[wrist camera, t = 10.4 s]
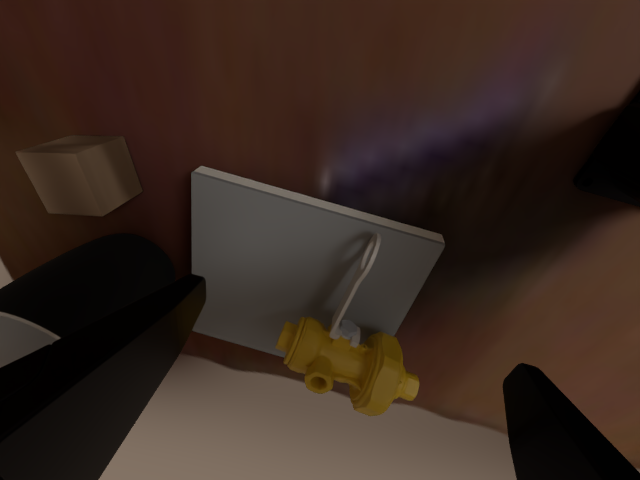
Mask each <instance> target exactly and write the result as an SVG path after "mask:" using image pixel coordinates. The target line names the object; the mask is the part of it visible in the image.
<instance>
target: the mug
mask: <svg viewBox="0 0 640 480" xmlns="http://www.w3.org/2000/svg"><path fill="white" fill-rule="evenodd" d="M173 282H175V271H174V267H173V265H172V263H171V261H170V259H169V258H168V256H167V255H166V254H165V253H164V252H163V251H162V250H161V249H160V248H159V247H158V246H157V245H155V244H154V243H152V242H151V241H149V240H147V239H145V238H143V237H140V236H137V235H133V234H114V235H108V236H105V237H101V238H98V239H96V240H93V241H91V242H88V243H86V244H84V245H81V246H79V247H77V248H75V249H73V250H70V251H68V252H66V253H64V254H62V255H60V256H58V257H56V258H54V259H53V260H51V261H49V262H47V263H45V264H43V265H41V266H39V267H38V268H36V269H34V270H32V271H30V272H29V273H27V274H25V275H23V276H22V277H20V278H18V279H16V280H15V281H13V282H11V283H9V284H8V285H6V286H4V287H3V288H1V289H0V368H1V367H3V366H5V365H7V364H9V363H11V362H13V361H15V360H17V359H19V358H21V357H24V356H26V355H28V354H30V353H32V352H34V351H36V350H38V349H40V348H42V347H44V346H46V345H48V344H51V345H52V343H53V342H54V341H56V340H58V339H60V338H62V337H64V336H66V335H68V334H70V333H72V332H74V331H76V330H78V329H80V328H82V327H84V326H86V325H88V324H90V323H92V322H94V321H96V320H98V319H100V318H102V317H104V316H106V315H108V314H110V313H112V312H114V311H116V310H119V309H121V308H123V307H125V306H127V305H129V304H131V303H133V302H135V301H137V300H139V299H141V298H143V297H145V296H147V295H149V294H151V293H153V292H155V291H157V290H159V289H161V288H163V287H165V286H167V285H169V284H171V283H173Z"/></svg>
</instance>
